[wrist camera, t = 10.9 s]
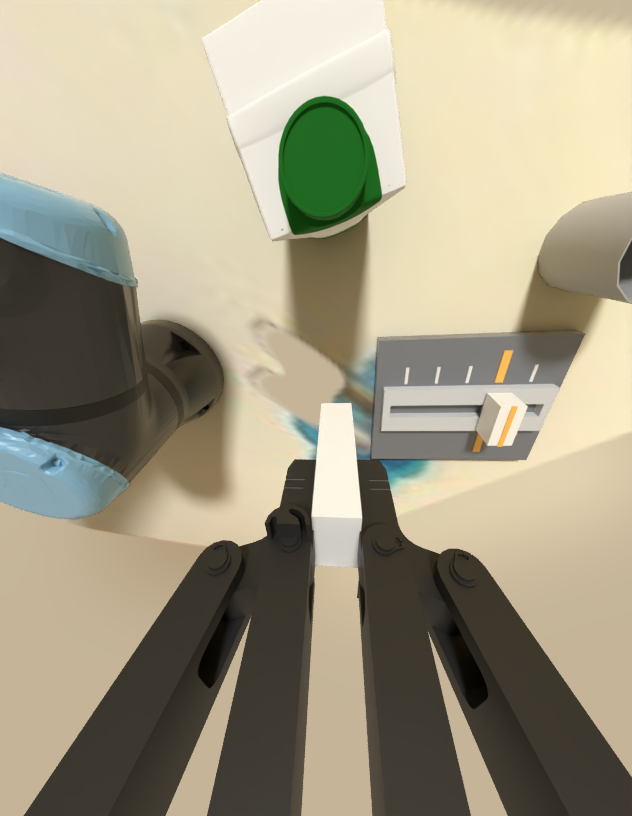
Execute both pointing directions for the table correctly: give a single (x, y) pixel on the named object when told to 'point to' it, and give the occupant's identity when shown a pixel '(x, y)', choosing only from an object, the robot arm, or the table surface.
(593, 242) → the cup
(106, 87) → the table surface
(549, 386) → the console
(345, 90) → the milk carton
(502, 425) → the fader
